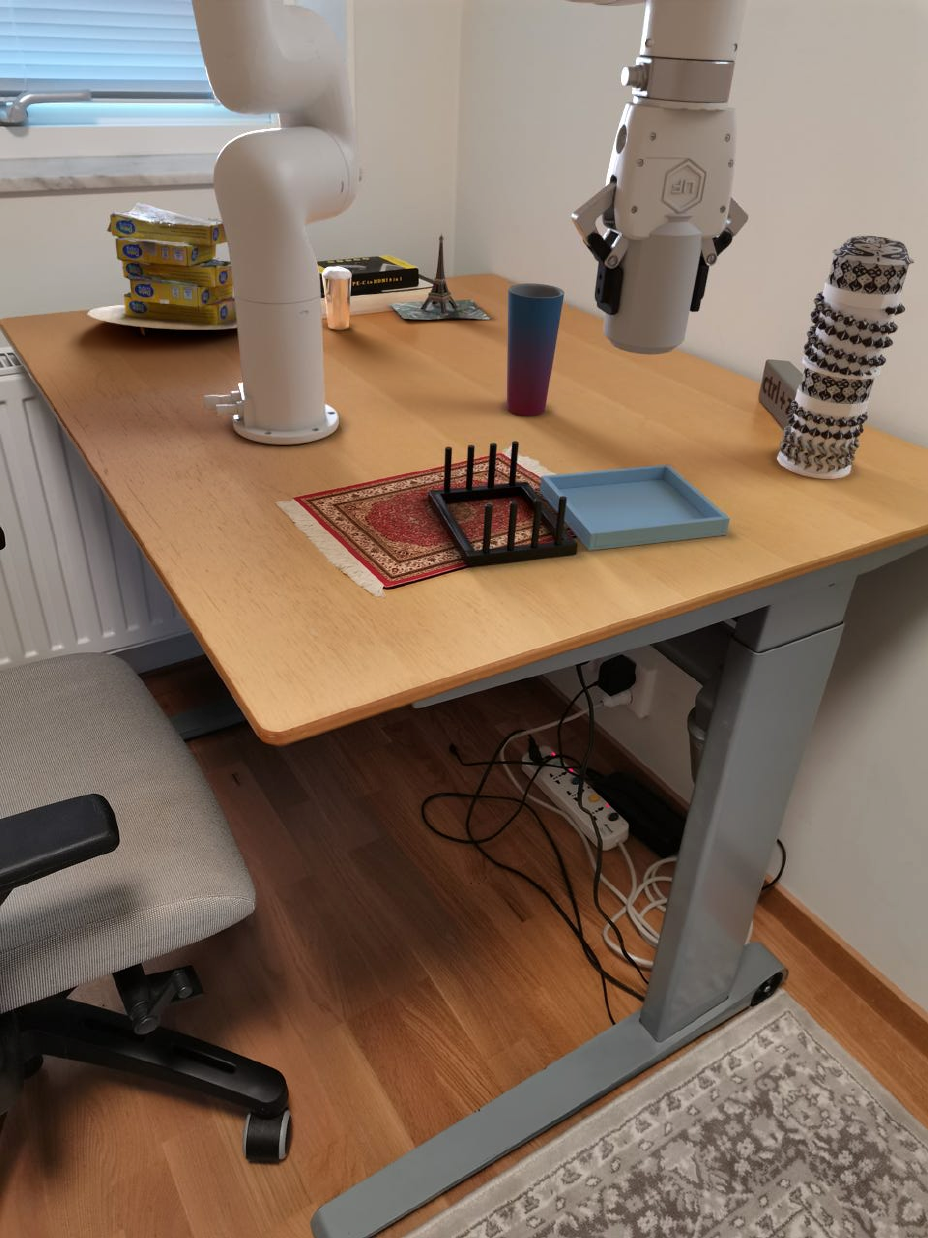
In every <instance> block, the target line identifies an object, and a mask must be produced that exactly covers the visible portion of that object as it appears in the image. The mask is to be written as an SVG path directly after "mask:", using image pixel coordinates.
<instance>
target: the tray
mask: <svg viewBox="0 0 928 1238" xmlns="http://www.w3.org/2000/svg"><path fill="white" fill-rule="evenodd" d="M539 493H540V494H541V495H542V497H543V498H544V499H545V500H546V502H547V503H548V504H549V505H550V506H551V507H552V509H553V510H554V511H555V513H556V514H558V506H559V498H560V497H561V496H565V497H567V503H566V511H565V519H564V524H566V525H567V527H568V528H569V529H570V530H571V532H572V533H573V534H574V535H575V536H576V538H577V539H578V540H579V541H580V543H581V544H582V545H583V546H584V547H585V549H587V551H588V552H591V551H600V550H610V549H616V548H626V547H634V546H643V545H651V544H660V543H669V542H677V541H685V540H686V541H687V540H694V539H695V540H696V539H702V538H711V537H721V536H727V535H728V529H729V525H730V522H731V521H730V520H731V517H729V516H728V515H727V514H726V513H725V512H724V511H722V510H721V509H720V508H719V507H718V506H717V505H715V504H714V503H713V502H712V501H711V500H710V499H709V498H707V497H706V496H705V495H704V494H703V493H702V492H701V491H699V490H698V489H697V488H696V487H695V486H694V485H693V484H691V482H689V481H688V480H687V479H686V478H685V477H683V476H682V475H681V474H680V473H679V472H678V471H677V470H675V469H674V467H672V466H671V465H669V464H668V463H667V464H657V465H646V466H645V465H644V466H637V467H636V466H634V467H623V468H614V469H613V468H612V469H603V470H590V471H582V472H571V473H560V474H559V473H558V474H548V475H541V476H540V485H539Z"/></svg>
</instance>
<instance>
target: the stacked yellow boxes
mask: <svg viewBox="0 0 928 1238" xmlns="http://www.w3.org/2000/svg"><path fill="white" fill-rule="evenodd" d="M109 218H110V219H109V221H110V222H109V225H108V227H107V230H106V232H108V233H111V235H112V236H113V237H116V238H115V239H114V240H115V251H116V252H115V253H116V259H117V260H118V261H121V262H122V266H121V268H122V274H123V277H124V279H127V280H129V288H130V291H128V292H127V293H124V294H123V302H124V304H120V305H119V304H116V305H109V306H101V307H96V308H93V309H90V310H88V311H87V316H89V317H90V318H93V319H96V320H99V321H101V322H107V323H111V324H117V325H123V326H132V327H139V329H140V333H141V334H142V335H143V336H146V333H145V332H146V331H149V330H148V329H145V328H150V329H151V328H152V329H164V330H165V329H167V330H168V329H169V330H194V331H195V330H199V331H200V330H206V331H207V330H228V329H237V319H236V308H235V297H234V291H233V280H232V270H231V262H230V261H229V260H226V261H225V260H219V259H220V258H219V257H217V259H215V258H216V254H217V245H221V244H225V243H227V238H226V233H225V229H224V225H223V222H222V220H219V219H218V218H213V219H211V218H207V219H205V218H201V217H200V218H199V217H192V216H187V215H184V214H181V213H177V212H174V211H169V210H166V209H161V208H157V207H156V206H153V205H149V204H147V203H143V202H137V203H135V204H134V206H133V207H132V208H131V210H130V211H129V210H128V211H122V212H115V211H113V212H112V213H111V214H110V217H109Z"/></svg>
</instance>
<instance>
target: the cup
mask: <svg viewBox="0 0 928 1238" xmlns="http://www.w3.org/2000/svg"><path fill="white" fill-rule="evenodd" d="M564 297H565V291H564V290H563V289H562V288H560V287H558V286H554V285H549V284H544V283H535V282H534V283H533V282H532V283H529V282H528V283H527V282H526V283H525V282H524V283H517V284H513V285H510V286H509V287H508V289H507V355H506V356H507V358H506V359H507V360H506V361H507V364H506V409H507V411H508V412H510V413H512V414H514V415H517V416H522V417H523V416H524V417H534V416H539V415H542V414H543V413H545V411H546V406H547V401H548V394H549V389H550V382H551V377H552V371H553V366H554V365H553V364H554V358H555V353H556V346H557V339H558V335H559V334H558V333H559V327H560V321H561V316H562V310H563V304H564Z"/></svg>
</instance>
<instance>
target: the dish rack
mask: <svg viewBox="0 0 928 1238" xmlns="http://www.w3.org/2000/svg"><path fill="white" fill-rule="evenodd" d="M519 445H520V443H519V441H516V440H513V441H512V442H511V449H510V450H511V452H510V461H509V463H510V464H509V477H508V482H507V483H496V484H495V477H496V476H495V475H496V462H497V448H498V444H497V443H496V442H490V444H489V452H488V453H489V455H488V468H487V469H488V471H487V484H485V485H484V484H483V485H476V486H473V485H474V484H473V481H474V465H475V463H474V462H475V450H476V449H475V445H474V444H468V445H467V453H466V471H465V472H466V473H465V486H463V487H453V488H452V487H451V482H452V460H453V459H452V458H453V447H452V446H445V448H444V467H443V470H444V471H443V488H442V489H431V490H428V491H427V501H428V504H429V505H430V507H431V508H432V510H433V511H434V513H435V515H436V517H437V518H438V520H439V522H440V524H441V525H442V527H443V529H444V530H445V532H446V534H447V535H448V537H449V539H450V540H451V542H452V545H454V547H455V549H456V550H457V552H458V554H459V555H460V557H461V560H463V562H464V564H465V566H466V567H467V568H472V567H473V568H474V567H482V566H490V565H498V564H507V563H516V562H524V561H525V562H526V561H533V560H541V559H549V558H559V557H566V556H575V555H577V554H578V548H579V543H578V542H577V540H576V539H575V538H574V537H573V535H571V533H569V531H568V530H567V529H566V527H565V522H564V519H565V511H566V503H567V497H565V496H561V497H560V498H559V506H558V513H556V514H557V516H556V515H555V514H554V513H553V511H552V510H551V509H550V507H548V505H547V503H545V502H544V501H543V499H542V498H541V496H539V494H538V493H537V492H536V491H535V490H534V488H533V487H532V485H531V484H529V482H528V481H516V480H517V470H518V469H517V468H518V457H519ZM513 497H514V498H515V497H521V499H522V500H523V501H524V502H525V503H526V505H527V506H528V507H529V509H530V510H531V511H532V513H533V516H532V517H533V518H532V519H533V520H532V528H531V538H530V543H528V544H519V545H515V543H516V530H517V519H518V509H519V501H516V500H514V501H513V500H512V501H510V503H509V515H508V526H507V538H506V546H500V547H494V548H492V547H491V542H492V541H491V540H492V539H491V538H492V525H493V514H494V513H493V511H494V510H493V509H494V505H493V504H492V503H485V505H484V517H483V519H484V520H483V533H482V548H481V549H475V548H474V546H473V545H472V543H471V542H470V540H469V538H468V537H467V535H466V533H465V532H464V531H463V529H462V527H461V526H460V523H459V522H458V521H457V519H456V518H455V516H454V514H453V513H452V511H451V509H450V508H449V506H448V505H447V504H453V503H462V502H472V501H473V502H474V501H484V500H494V499H504V498H513ZM541 524H542V525H543V527H544V528H545V529H546V530H547V532H548V533H549V534H550V535H551V536H552V538H553V539H554V541H545V542H539V541H540V531H541Z"/></svg>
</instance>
